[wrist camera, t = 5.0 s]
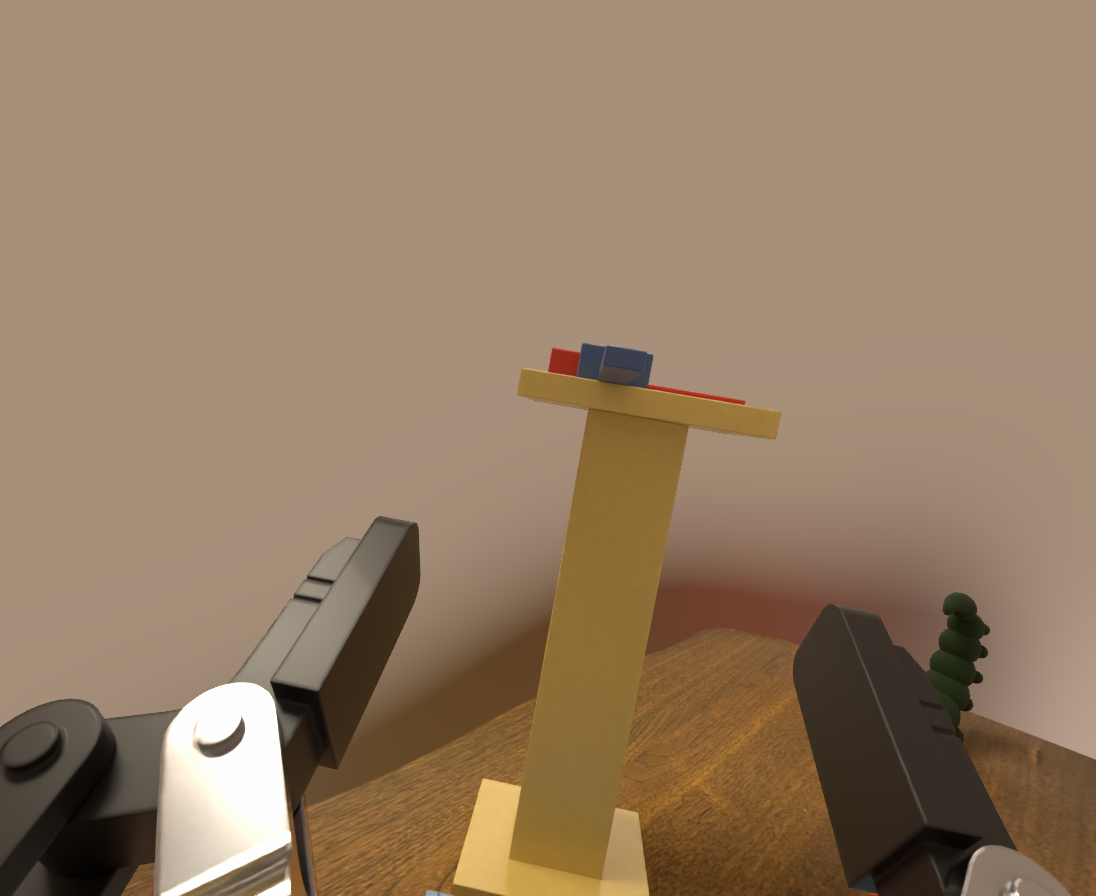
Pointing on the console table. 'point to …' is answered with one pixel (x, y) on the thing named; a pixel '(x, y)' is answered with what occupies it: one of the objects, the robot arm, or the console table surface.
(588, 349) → the blue toy mallet
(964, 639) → the green caterpillar figure
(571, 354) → the red toy mallet
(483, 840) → the stand
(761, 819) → the console table surface
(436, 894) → the blue tray
